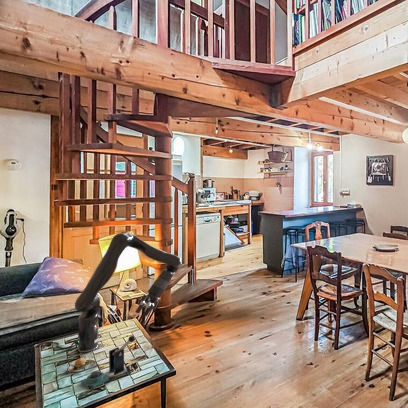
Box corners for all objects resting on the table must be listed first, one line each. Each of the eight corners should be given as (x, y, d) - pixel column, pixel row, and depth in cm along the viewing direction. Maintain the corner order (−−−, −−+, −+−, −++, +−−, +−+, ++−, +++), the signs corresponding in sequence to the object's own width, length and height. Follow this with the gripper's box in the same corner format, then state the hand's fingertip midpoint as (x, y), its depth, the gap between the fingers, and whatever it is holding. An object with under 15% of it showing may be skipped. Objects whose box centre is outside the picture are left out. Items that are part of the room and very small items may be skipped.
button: (88, 377, 154) (88, 374, 154) (97, 373, 157) (97, 370, 157) (93, 379, 153) (93, 375, 153) (101, 375, 156) (101, 372, 156)
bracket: (118, 367, 169) (118, 344, 169) (130, 372, 165) (130, 348, 165) (102, 375, 162) (102, 351, 161) (114, 380, 158) (114, 355, 157)
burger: (101, 363, 173) (101, 350, 173) (83, 376, 161) (83, 361, 161) (80, 362, 173) (79, 349, 173) (60, 375, 161) (60, 360, 161)
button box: (81, 384, 154) (81, 377, 154) (96, 377, 160) (96, 369, 160) (93, 390, 150) (93, 382, 150) (109, 382, 157) (109, 374, 156)
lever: (133, 337, 173) (131, 333, 171) (137, 339, 172) (135, 335, 170) (113, 357, 163) (110, 353, 162) (117, 358, 162) (114, 354, 161)
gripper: (146, 283, 187) (128, 309, 178) (160, 285, 179) (142, 313, 171) (156, 288, 192) (139, 314, 183) (170, 291, 184) (153, 318, 176)
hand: (140, 314), depth 177 cm, fingers open, 8 cm apart
